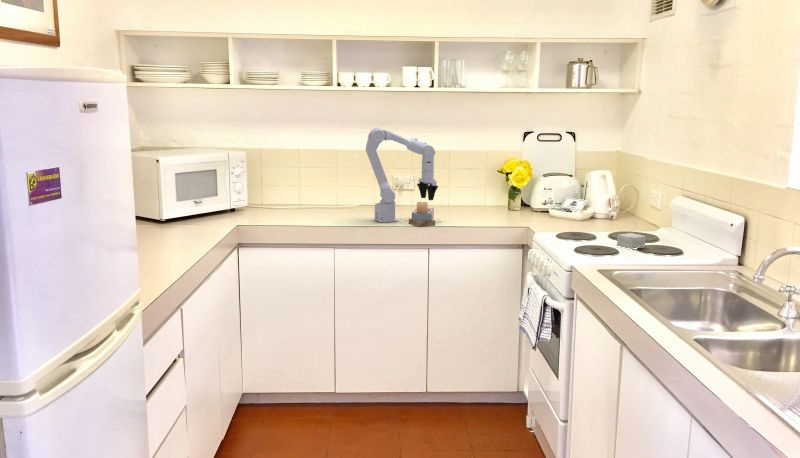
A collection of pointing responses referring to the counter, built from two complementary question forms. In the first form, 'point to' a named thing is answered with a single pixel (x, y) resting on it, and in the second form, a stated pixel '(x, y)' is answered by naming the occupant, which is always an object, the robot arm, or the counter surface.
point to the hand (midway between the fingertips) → (427, 199)
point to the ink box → (428, 211)
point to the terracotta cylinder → (422, 207)
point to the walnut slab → (421, 223)
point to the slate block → (421, 217)
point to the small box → (630, 240)
